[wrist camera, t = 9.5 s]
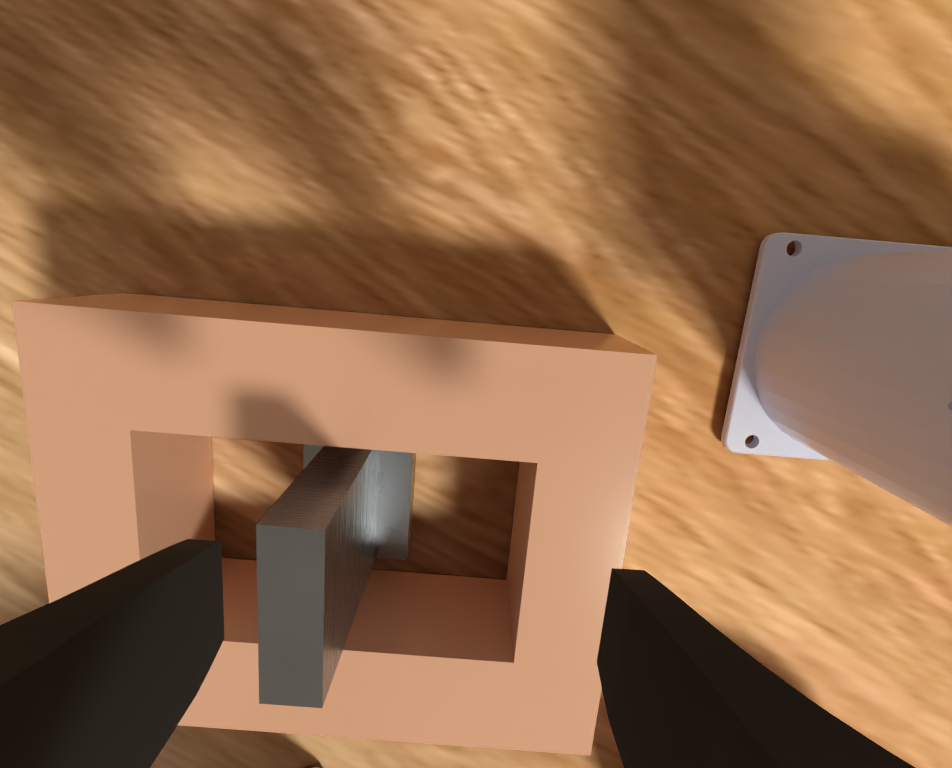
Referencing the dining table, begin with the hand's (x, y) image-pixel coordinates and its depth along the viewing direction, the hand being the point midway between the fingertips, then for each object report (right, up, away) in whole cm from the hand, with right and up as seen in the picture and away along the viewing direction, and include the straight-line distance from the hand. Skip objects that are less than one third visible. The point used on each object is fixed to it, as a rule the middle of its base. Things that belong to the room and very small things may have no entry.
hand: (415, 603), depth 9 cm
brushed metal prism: (-3, 0, +11) cm, 11 cm away
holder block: (-3, 0, +11) cm, 11 cm away
